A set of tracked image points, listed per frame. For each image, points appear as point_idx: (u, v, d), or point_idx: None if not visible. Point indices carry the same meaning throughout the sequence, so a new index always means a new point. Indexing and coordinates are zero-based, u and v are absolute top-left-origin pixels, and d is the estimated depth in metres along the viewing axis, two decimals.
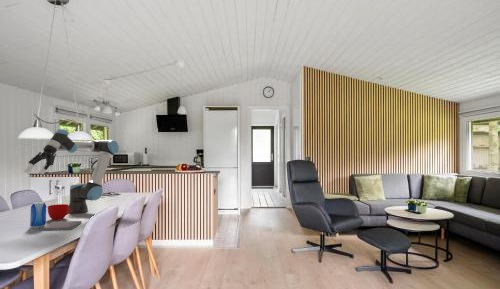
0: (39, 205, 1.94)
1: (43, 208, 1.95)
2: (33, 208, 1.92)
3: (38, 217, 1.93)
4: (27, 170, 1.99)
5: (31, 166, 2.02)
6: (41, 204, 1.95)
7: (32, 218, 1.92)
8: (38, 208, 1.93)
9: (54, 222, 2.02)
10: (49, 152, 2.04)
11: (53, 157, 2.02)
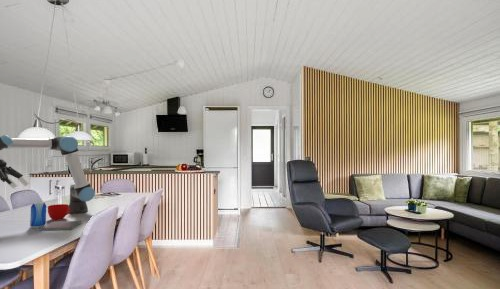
0: (39, 205, 1.94)
1: (43, 208, 1.95)
2: (33, 208, 1.92)
3: (38, 217, 1.93)
4: (24, 183, 2.01)
5: (21, 179, 2.00)
6: (41, 204, 1.95)
7: (32, 218, 1.92)
8: (38, 208, 1.93)
9: (54, 222, 2.02)
10: None
11: None
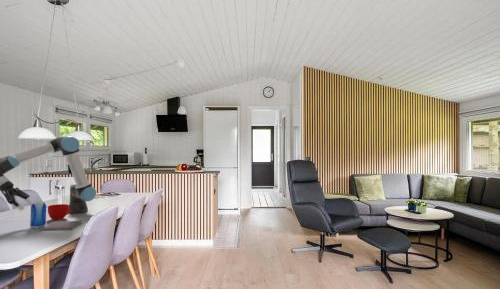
0: (39, 205, 1.94)
1: (43, 208, 1.95)
2: (33, 208, 1.92)
3: (38, 217, 1.93)
4: (31, 204, 2.01)
5: (28, 200, 2.00)
6: (41, 204, 1.95)
7: (32, 218, 1.92)
8: (38, 208, 1.93)
9: (54, 222, 2.02)
10: None
11: (6, 195, 1.85)
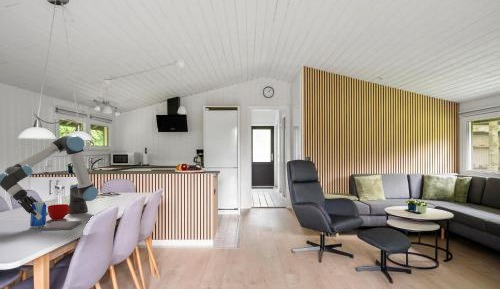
0: (39, 205, 1.94)
1: (43, 208, 1.95)
2: (33, 208, 1.92)
3: None
4: None
5: None
6: (41, 204, 1.95)
7: (32, 218, 1.92)
8: (38, 208, 1.93)
9: (54, 222, 2.02)
10: None
11: (23, 204, 1.89)
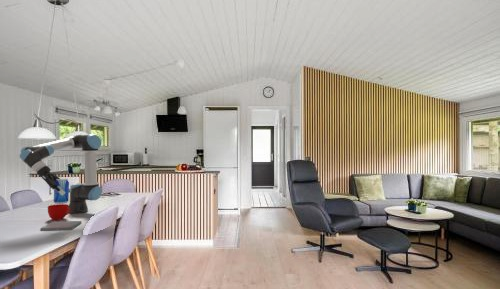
0: (62, 181, 1.95)
1: (66, 184, 1.97)
2: (57, 184, 1.94)
3: None
4: None
5: None
6: (64, 180, 1.96)
7: (56, 194, 1.94)
8: (61, 184, 1.95)
9: (54, 222, 2.02)
10: None
11: (47, 180, 1.90)
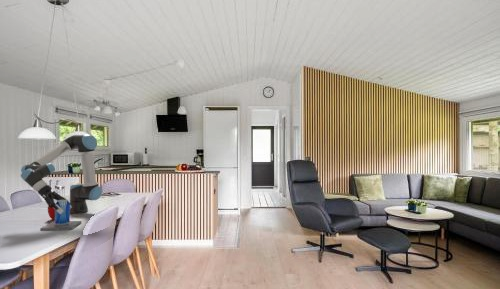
0: (63, 203, 1.95)
1: (67, 206, 1.97)
2: None
3: (62, 215, 1.94)
4: None
5: None
6: (65, 202, 1.96)
7: (57, 216, 1.94)
8: (62, 206, 1.94)
9: (54, 222, 2.02)
10: None
11: (46, 198, 1.90)
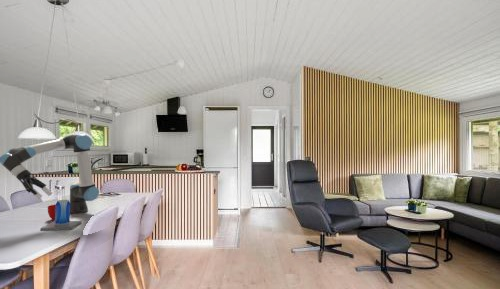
0: (63, 203, 1.96)
1: (67, 206, 1.97)
2: (58, 206, 1.94)
3: (62, 214, 1.95)
4: (48, 193, 2.02)
5: (44, 189, 2.02)
6: (65, 202, 1.97)
7: (57, 216, 1.94)
8: (62, 206, 1.95)
9: (54, 222, 2.02)
10: None
11: (24, 183, 1.87)
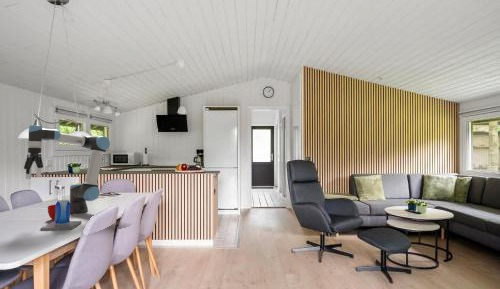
0: (63, 203, 1.96)
1: (67, 206, 1.97)
2: (58, 206, 1.94)
3: (62, 214, 1.95)
4: (37, 175, 2.10)
5: (38, 170, 2.10)
6: (65, 202, 1.97)
7: (57, 216, 1.94)
8: (62, 206, 1.95)
9: (54, 222, 2.02)
10: None
11: (28, 159, 1.97)
